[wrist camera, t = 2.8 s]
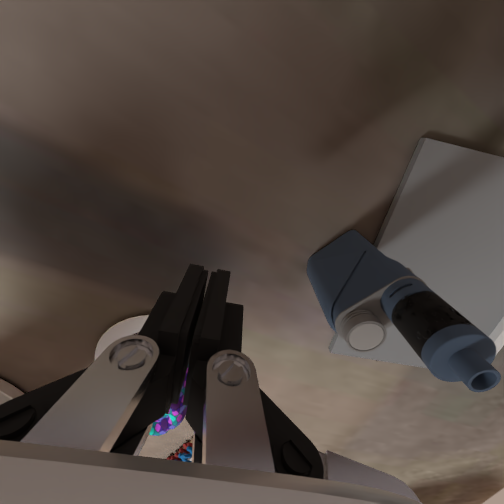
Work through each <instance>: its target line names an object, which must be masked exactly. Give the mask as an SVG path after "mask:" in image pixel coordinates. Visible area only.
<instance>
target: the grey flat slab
mask: <svg viewBox="0 0 504 504" xmlns="http://www.w3.org/2000/svg"><path fill="white" fill-rule="evenodd" d="M373 246H375V247H376V248H377V249H378V250H379V251H380V252H382V253H383V254H384V255H385V256H386V257H388V258H391V259H393V260H395V261H397V262H399V263H401V264H402V265H404V266H405V267H406V268H407V267H408V268H410V269H411V270H412V272H413V273H414V274H415V275H416V276H417V277H418V278H420V279H422V280H423V281H424V282H425V283H426V285H427V286H428V287H429V288H430V289H431V290H432V291H434V292H435V293H436V294H437V295H438V296H440V297H441V298H442V299H443V300H444V301H446V302H447V303H448V304H449V305H450V306H452V307H453V308H454V309H455V310H457V311H458V312H459V313H460V314H461V315H463V316H464V317H465V318H466V319H467V320H469V321H470V322H471V323H472V324H473V325H475V326H476V327H477V328H478V329H480V330H481V331H482V332H483V333H484V334H486V335H487V336H488V337H489V338H490V339H492V340H493V342H494V343H495V346H496V354H497V353H498V352H499V350H500V349H501V348H502V347H503V345H504V157H500V156H496V155H492V154H488V153H484V152H480V151H476V150H472V149H469V148H465V147H461V146H457V145H453V144H449V143H445V142H441V141H437V140H433V139H429V138H420V140H419V142H418V144H417V147H416V149H415V151H414V153H413V156H412V158H411V160H410V163H409V165H408V167H407V169H406V172H405V174H404V176H403V179H402V181H401V183H400V186H399V188H398V190H397V192H396V195H395V197H394V199H393V202H392V204H391V206H390V208H389V211H388V213H387V215H386V218H385V220H384V222H383V224H382V227H381V229H380V231H379V234H378V236H377V238H376V241H375V243H374V245H373ZM453 312H454V311H453ZM470 325H471V324H470ZM386 331H387V337H386V340H385V341H384V343H383V344H382V345H381V346H380V347H379V348H377V349H375V350H373V351H370V352H363V353H362V352H356V351H353V350H352V349H350V348H349V346H348V345H347V343H346V341H345V340H344V339H342V338H341V337H340V336H339V335H338V333H336V332H335V334H334V337H333V339H332V341H331V344H330V346H329V350H330V353H334V354H341V355H347V356H353V357H360V358H366V359H372V360H378V361H385V362H391V363H397V364H404V365H410V366H416V367H422V368H427V366H426V365H425V364H424V362H423V361H422V360H421V359H420V357H419V356H418V355H417V354H416V352H415V351H414V350H413V348H412V347H411V346H410V345H409V343H408V342H407V341H406V340H405V338H404V337H403V336H402V334H401V333H400V332H399V331H398V329H397V328H396V327H395V325H392V326H390V327H388V328H386ZM495 356H496V355H495Z"/></svg>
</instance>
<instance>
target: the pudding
mask: <svg viewBox="0 0 504 504" xmlns="http://www.w3.org/2000/svg"><path fill="white" fill-rule="evenodd" d="M148 316H149V315H144V316H137V317H132V318H128V319H126V320H123V321H121V322H118V323H117V324H115V325H114V326H112V327H110V328H109V329H108V330H107V331H106V332H105V333H104V334H103V335H102V337H101V338H100V340H99V341H98V343H97V346H96V349H95V360H96V359H97V358H98V357H99V356H100V354H101V353H102V352H103V351H104V350H105V349H106V348H107V347H108V346H109V345H110V344H111V343H113V342H114V341H116V340H118V339H120V338H122V337H126V336H129V335H133V334H134V333H137V332H140V330H141V328H142V327H143V325H144V323H145V321H146V320H147V318H148ZM188 365H189V364H188ZM187 372H188V368H187V371H186V375H185V379H184V382H183V386H182V389H181V393H180V397H179V400H178V403H177V404H173V403H171V406H170V410H169V413H168V414H165V415H164V416H163V417H161V418H160V419H158V420H157V421H155V422H153V425H152V428H151V431H150V433H149V435H153V436H160V435H162V434H165V433H167V432H168V431H169V429H173V428H175V427H177V426H178V425H179V424H180V423H181V422H182V420H183V419H184V417H185V415H186V411H187V405H182V404H183V397H184V391H185V384H186V378H187Z"/></svg>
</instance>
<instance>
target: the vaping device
mask: <svg viewBox="0 0 504 504" xmlns="http://www.w3.org/2000/svg"><path fill="white" fill-rule="evenodd" d="M307 275H308V277H309V280H310V282H311V284H312V287H313V289H314V291H315V294H316V296H317V298H318V301H319V303H320V305H321V307H322V310H323V312H324V314H325V317H326V319H327V321H328V323H329V325H330V327H331V328H332V329H333V330H334V331H335V332H336V333H338V335H339V336H340V337H341V338H342V339H344V340H345V341H346V343H347V345H348V346H349V348H350V349H352V350H353V351H356V352H362V353H363V352H370V351H373V350H375V349H377V348H379V347H380V346H381V345H382V344H383V343H384V341H385V340H386V337H387V331H386V328H388V327H390V326H392V325H395V327H396V328H397V329H398V331H399V332H400V333H401V334H402V336H403V337H404V338H405V340H406V341H407V342H408V343H409V345H410V346H411V347H412V348H413V350H414V351H415V352H416V354H417V355H418V356H419V357H420V359H421V360H422V361H423V362H424V364H425V365H426V366H427V368H428V369H429V370H430V371H431V373H432V374H433V375H434V376H435V377H437V378H438V379H440V380H443V381H449V382H458V381H463V383H464V384H465V385H466V386H467V387H468V388H469V389H470V390H471V391H474V392H484V391H487V390H490V389H492V388H493V387H495V386H496V385H497V384H498V383H499V381H500V379H501V375H500V373H499V372H498V371H497V370H496V369H495V368H494V367H493V366H492V365H491V363H492V362H493V360H494V358H495V355H496V346H495V343H494V342H493V340H492V339H490V338H489V337H488V336H487V335H486V334H484V333H483V332H482V331H481V330H480V329H478V328H477V327H476V326H475V325H473V324H472V323H471V322H470V321H469V320H467V319H466V318H465V317H464V316H463V315H461V314H460V313H459V312H458V311H457V310H455V309H454V308H453V307H452V306H450V305H449V304H448V303H447V302H446V301H444V300H443V299H442V298H441V297H440V296H438V295H437V294H436V293H435V292H434V291H432V290H431V289H430V288H429V287H428V286H427V285H426V283H425V282H424V281H423V280H422V279H420V278H418V277H417V276H416V275H415V274H414V273H413V272H412V270H411V269H410V268H408V267H407V268H406V267H405V266H404V265H402V264H401V263H399V262H397V261H395V260H393V259H391V258H388V257H386V256H385V255H384V254H383V253H382V252H380V251H379V250H378V249H377V248H376V247H375V246H373V245H372V244H371V243H370V242H369V241H368V240H366V239H365V238H364V237H363V236H362V235H361V234H359V233H358V232H357V231H356V230H350V231H348V232H346V233H345V234H343V235H342V236H340V237H339V238H338V239H336V240H335V241H333V242H332V243H330V244H329V245H327V246H326V247H324V248H323V249H321V250H320V251H318V252H317V253H315V254H314V255H312V256H311V257H310V259H309V260H308V265H307ZM453 311H454V312H453ZM470 324H471V325H470Z"/></svg>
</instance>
